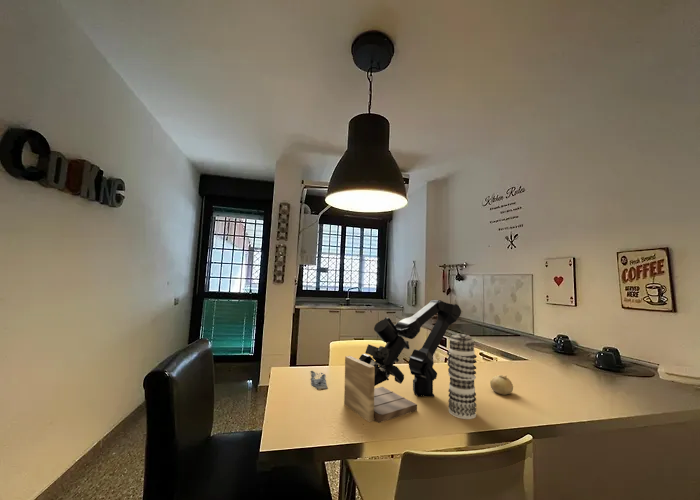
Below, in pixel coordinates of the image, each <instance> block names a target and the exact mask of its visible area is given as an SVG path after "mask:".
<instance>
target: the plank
mask: <svg viewBox="0 0 700 500" xmlns="http://www.w3.org/2000/svg"><path fill="white" fill-rule="evenodd" d="M374 377H375V367H374V366H372V365H370V364H368V363H365V362H363V361H361V360H359V358H356V357H353V356H352V355H348V356H345V357H344V396H343V398H344V399H343V402H344V403H343V404H344V406H346V407H347V408H348V409H350V410H351V411H353V412H354V413H355V414H357V415H358V416H359V417H361V418H362V419H364V420H366V422H373V421H375V420H374V389H375V386H374Z"/></svg>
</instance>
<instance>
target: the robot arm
mask: <svg viewBox="0 0 700 500" xmlns="http://www.w3.org/2000/svg"><path fill="white" fill-rule="evenodd" d="M461 314H462V309H461V308H460V306H459V305H458V304H457V303H449V302H445V301H443V300H440V299H431V300H430V301H429V303H427V304H426V305H424V307H422V308H421V309H419V310H418V311H417V312H415V313H414V314H413V315H411V316H408V317H405V318H402V319H401V320H399V321H398V322H397V323H396V324H395V323H394V322H393V321H392V319H391V318H390V317H385V318H383V319H381V320H379V321H378V322H376V323H375V325H374V327H373V330H374V333H376V335H377V336H378V337H379V338H380V339H381V341H382V342H383V343H386V345H384V346H382V345H380V346H379V347H377V346H374V345H372V344H369V343H368V344H367V346H366V349H365V352H364V353H362V354H361V355H360V356H359V357H358V360H361V361H363V362H365V363H368V364H370V365H372V366H374V367H375V377H374V387H376V386H378V385H379V384H381V383H384V382H386V381H389V380H390V379H389V377H390V375H391V376H393V377H394V382H396V383H399V384H402V383H403V382H404V381H405V380H404V379H405V374H404V373H403V372H402V371H401V370H400V368H399V367H398V366H396V365H394V364H395V362H396V363H398V362H399V361H400V359H399V356H400V354H401V353H402V351H403V350H404V349H406V350H410V345H409V341H408V340H405V338H406V339H409V340H414V339H415V338H416V337H417V336H418V334H419V333H420V332H421V328H422V327H423V325H424V324H425V323H427V322H428V321H429V320H431V319H432V317H434V316H435V315H437V319H436V321H435V323H434V325H433V326H432V329H431V331H430V332H429V334H428V336H427V337H426V340H425V342H424V344H423V345H422V347H421V348H420V349H417V348H416V349H413V351H412V352H411V353H412V354H410V356H409V357H408V363H407V364H408V369H409V371H410V375H413V376H414V379H412V391H413V392H414V394H415V396H416V397H421V398H422V397H424V398H425V397H428V398H429V397H430V398H432V397H433V398H434V397H435V393H434V392H433V391H434V381H435V380H436V379H437V376H438V372H437V371H436V370H435V368H434V367H433V366H434V363H435V362H434V355H435V353H436V352H437V349H438V347H439V346H440V343H441V341H442V340H443V338H444V336H445V334H446V332H447V330H448V329H449V327H450V326H451V325H452V324H454V323H456V322H457V320H458V319H459V318H460V316H461Z"/></svg>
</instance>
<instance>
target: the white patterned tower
mask: <svg viewBox="0 0 700 500" xmlns="http://www.w3.org/2000/svg"><path fill="white" fill-rule="evenodd" d="M448 340H449V347H448V351H446V354H447V355H448V357H446V358H447V366H448V368H447V370H448V376H449V384H448V386H449V388H448V392H449V393H448V397H449V398H448V402H447V403H448V413H449V414H450V415H451V416H453V417H455V418H458V419H462V420H473V419H475V418H476V417H477V414H476V412H477V408H476V407H477V403H476V401H477V397H476V396H477V392H476V386H475V380H476V378H477V376H476V374H477V372H476V370H477V366H476V365H475V364H476V363H477V360H476V358H477V355H476V353H475V343H474V342H475V340H474V339H473V338H472V337H471V336H470V334H467V333H466V334H465V333H453V334H452V335H451V336H450V337H449V338H448Z"/></svg>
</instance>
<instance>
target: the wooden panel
mask: <svg viewBox="0 0 700 500" xmlns="http://www.w3.org/2000/svg"><path fill="white" fill-rule="evenodd" d="M417 411H418V404H417V403H415V402H413V401H412V400H409V399H408V398H405V396H401V395H400V394H397V393H396V392H394V391H392V390H390V389H388V388H386V387H384V386H380V387H376V388H375V387H374V420H373V421H376V422H377V423H379V424H380V423H382V422H386V421H389V420H392V419H395V418H398V417H402V416H405V415H408V414H411V413H414V412H417Z"/></svg>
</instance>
